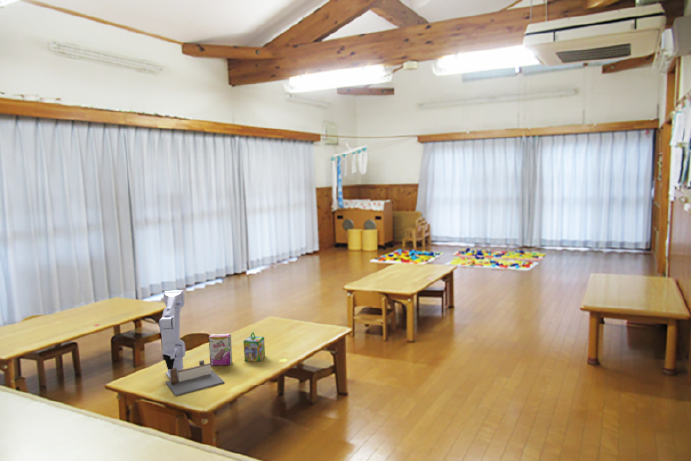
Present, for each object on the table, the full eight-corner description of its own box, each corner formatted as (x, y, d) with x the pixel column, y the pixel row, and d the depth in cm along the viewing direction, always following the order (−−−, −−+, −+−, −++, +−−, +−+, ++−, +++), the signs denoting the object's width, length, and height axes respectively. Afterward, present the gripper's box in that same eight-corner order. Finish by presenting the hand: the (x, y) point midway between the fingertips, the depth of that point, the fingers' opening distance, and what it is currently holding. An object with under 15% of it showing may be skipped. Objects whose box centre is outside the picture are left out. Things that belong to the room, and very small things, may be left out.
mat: (165, 383, 236) (165, 381, 236) (212, 371, 249) (212, 369, 249) (175, 396, 221) (175, 394, 221) (224, 383, 234) (224, 381, 234)
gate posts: (170, 384, 234) (169, 369, 233) (203, 374, 246) (202, 359, 245) (172, 386, 232) (171, 371, 231) (205, 376, 243) (204, 361, 243)
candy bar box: (210, 366, 257) (208, 336, 255) (212, 362, 262) (210, 333, 260) (230, 365, 257) (229, 336, 255) (232, 361, 262) (231, 333, 260)
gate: (179, 381, 234) (178, 371, 234) (178, 381, 235) (178, 370, 235) (211, 373, 243) (210, 363, 243) (210, 372, 244) (209, 362, 244)
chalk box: (259, 362, 260) (258, 336, 259) (244, 361, 262) (242, 335, 261) (265, 356, 269) (264, 330, 268) (250, 355, 271) (249, 330, 270)
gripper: (180, 343, 225) (182, 371, 226) (172, 336, 237) (174, 362, 238) (165, 347, 221) (167, 375, 222) (158, 339, 233) (160, 365, 234)
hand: (170, 368), depth 230 cm, fingers closed
